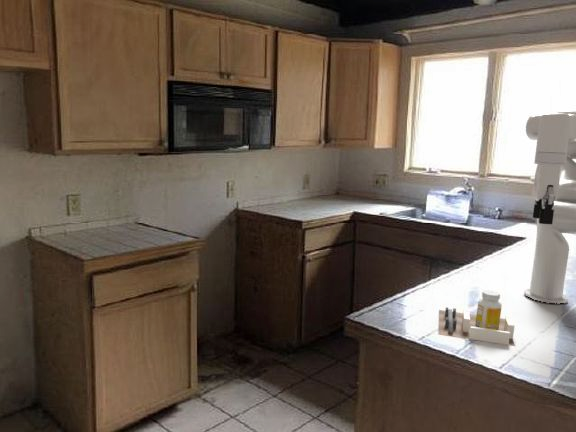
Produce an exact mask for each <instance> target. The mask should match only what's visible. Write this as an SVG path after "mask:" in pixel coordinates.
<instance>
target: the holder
mask: <svg viewBox="0 0 576 432" xmlns="http://www.w3.org/2000/svg"><path fill="white" fill-rule="evenodd" d="M462 313H463V318H462V330H463V332H469V326H470V314H471V313H470V311H466V310H465V311H464V310H463V311H462ZM504 319H505V323H504V331H500V330H493V329H487V328H480V327H473V326H471V328H470V337H469V338H470V339H469V340H471V339H473V341H478V340H479V341H480V342H485V341H486V343H491V342H493V343H492V344H498V343H499V345H504V344H506V346H510V345H509V338H510V339H513V340H514V333H515V332H514V331H515V322H514V321H513V318H512V317H510V316H509V317H508V316H505V318H504Z"/></svg>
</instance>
